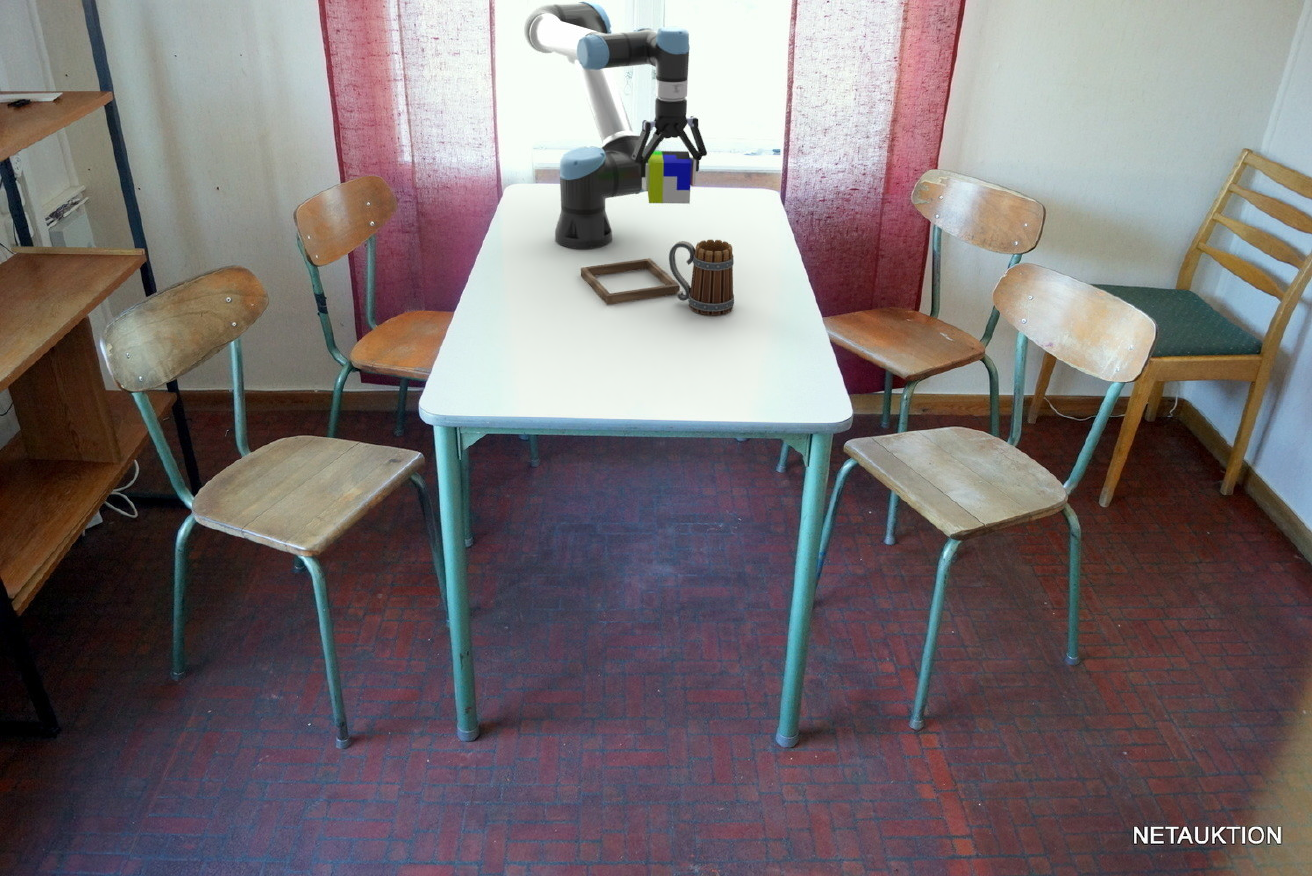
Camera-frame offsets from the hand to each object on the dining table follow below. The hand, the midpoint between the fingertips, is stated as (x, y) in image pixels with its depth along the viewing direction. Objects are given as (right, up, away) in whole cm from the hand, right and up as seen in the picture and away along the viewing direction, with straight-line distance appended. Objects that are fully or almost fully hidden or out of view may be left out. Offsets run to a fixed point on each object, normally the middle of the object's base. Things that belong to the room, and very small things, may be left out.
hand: (668, 187), depth 254 cm
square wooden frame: (-10, -25, -7) cm, 28 cm away
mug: (+7, -32, -16) cm, 36 cm away
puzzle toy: (0, -2, +1) cm, 3 cm away
